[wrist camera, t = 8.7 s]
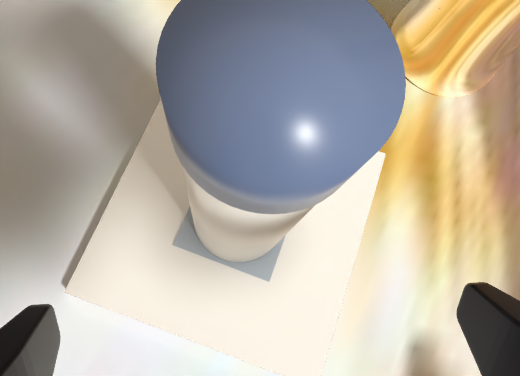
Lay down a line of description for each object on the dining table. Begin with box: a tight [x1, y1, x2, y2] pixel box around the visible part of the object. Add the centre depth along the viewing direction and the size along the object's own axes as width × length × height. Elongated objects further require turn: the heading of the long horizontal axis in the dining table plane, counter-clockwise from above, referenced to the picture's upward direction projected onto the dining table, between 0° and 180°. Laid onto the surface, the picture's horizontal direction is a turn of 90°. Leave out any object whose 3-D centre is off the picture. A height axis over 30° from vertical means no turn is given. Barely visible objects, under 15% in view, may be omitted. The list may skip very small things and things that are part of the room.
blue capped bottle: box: [156, 0, 406, 262], centre depth 13 cm, size 4×4×12 cm
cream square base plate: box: [64, 99, 386, 376], centre depth 19 cm, size 11×11×1 cm
